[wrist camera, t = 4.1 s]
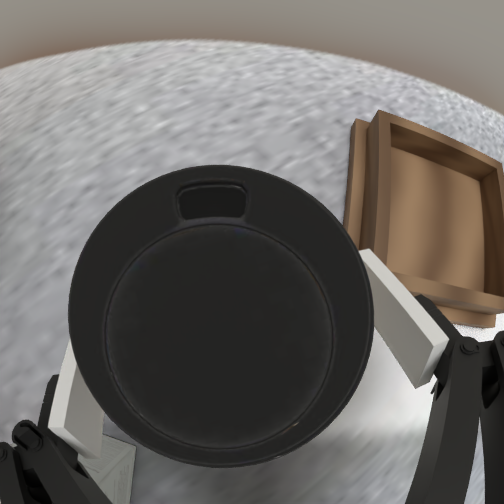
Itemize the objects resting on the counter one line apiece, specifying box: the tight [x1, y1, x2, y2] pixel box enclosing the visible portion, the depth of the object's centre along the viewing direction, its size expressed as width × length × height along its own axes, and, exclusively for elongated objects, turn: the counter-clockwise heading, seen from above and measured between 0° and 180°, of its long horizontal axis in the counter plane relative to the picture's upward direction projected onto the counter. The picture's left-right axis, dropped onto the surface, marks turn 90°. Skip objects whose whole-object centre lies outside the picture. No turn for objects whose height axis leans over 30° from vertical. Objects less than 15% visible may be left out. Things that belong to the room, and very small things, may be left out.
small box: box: [0, 434, 136, 504], centre depth 12 cm, size 8×6×13 cm
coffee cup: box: [68, 165, 374, 468], centre depth 15 cm, size 9×9×15 cm
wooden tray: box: [343, 110, 504, 328], centre depth 22 cm, size 16×16×4 cm
